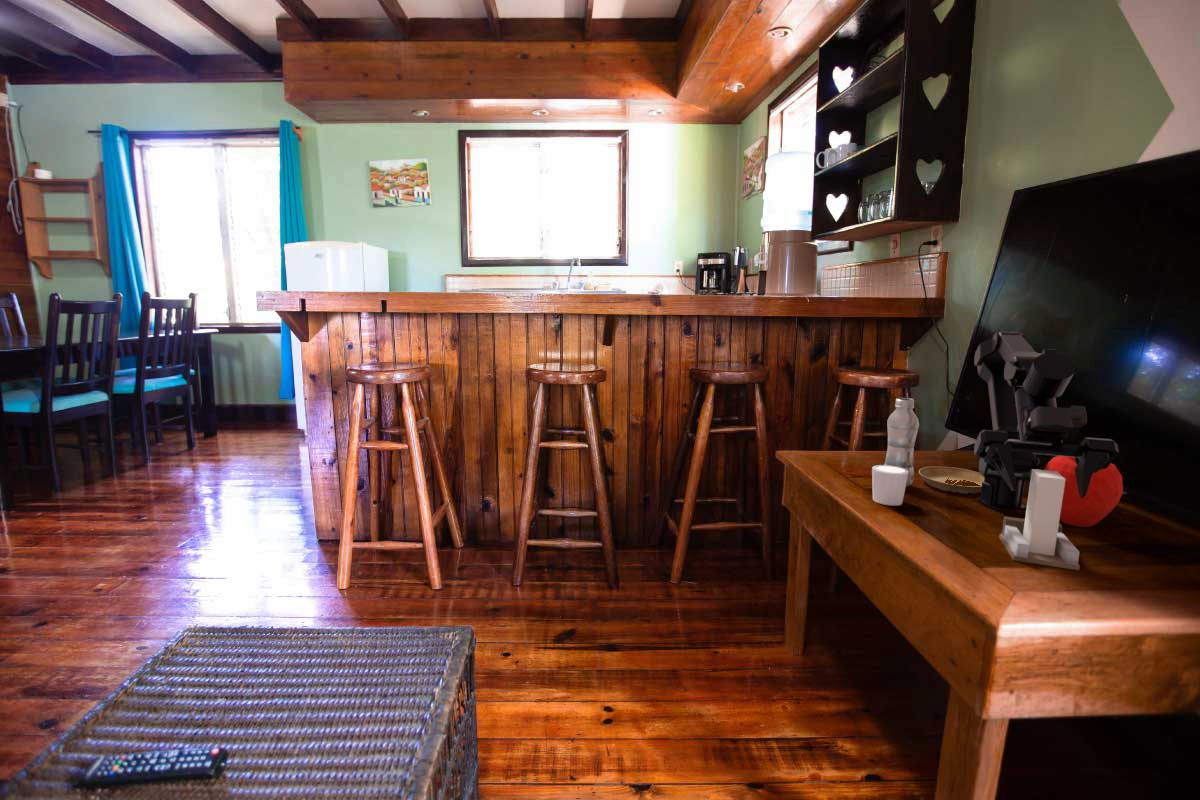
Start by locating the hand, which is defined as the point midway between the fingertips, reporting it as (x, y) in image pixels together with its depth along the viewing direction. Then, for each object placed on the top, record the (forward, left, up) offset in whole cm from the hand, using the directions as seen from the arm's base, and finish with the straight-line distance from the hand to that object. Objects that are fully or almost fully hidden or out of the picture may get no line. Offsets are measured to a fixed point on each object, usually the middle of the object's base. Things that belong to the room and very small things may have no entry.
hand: (1048, 493), depth 93 cm
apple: (-19, -13, -11) cm, 25 cm away
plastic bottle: (+2, -37, -11) cm, 39 cm away
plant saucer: (-11, -36, -11) cm, 39 cm away
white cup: (+10, -27, -11) cm, 31 cm away
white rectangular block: (-1, -1, -10) cm, 10 cm away
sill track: (-1, -1, -11) cm, 11 cm away
